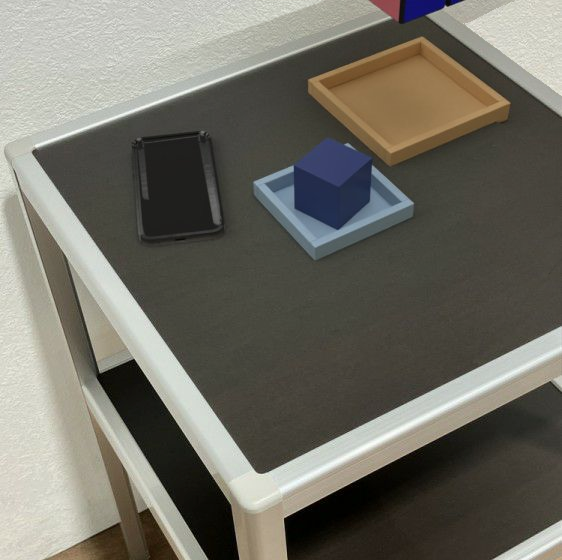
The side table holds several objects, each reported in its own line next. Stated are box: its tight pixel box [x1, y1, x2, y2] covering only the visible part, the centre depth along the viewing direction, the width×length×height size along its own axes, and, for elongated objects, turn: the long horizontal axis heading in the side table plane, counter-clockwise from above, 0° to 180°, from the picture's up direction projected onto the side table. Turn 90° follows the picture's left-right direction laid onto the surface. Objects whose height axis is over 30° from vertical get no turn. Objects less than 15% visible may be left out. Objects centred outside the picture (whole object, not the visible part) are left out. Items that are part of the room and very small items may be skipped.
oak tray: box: [307, 36, 511, 167], centre depth 98 cm, size 15×15×2 cm
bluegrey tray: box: [252, 142, 415, 261], centre depth 89 cm, size 11×11×2 cm
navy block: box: [293, 137, 373, 230], centre depth 87 cm, size 5×5×5 cm
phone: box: [131, 130, 226, 247], centre depth 91 cm, size 8×1×15 cm
